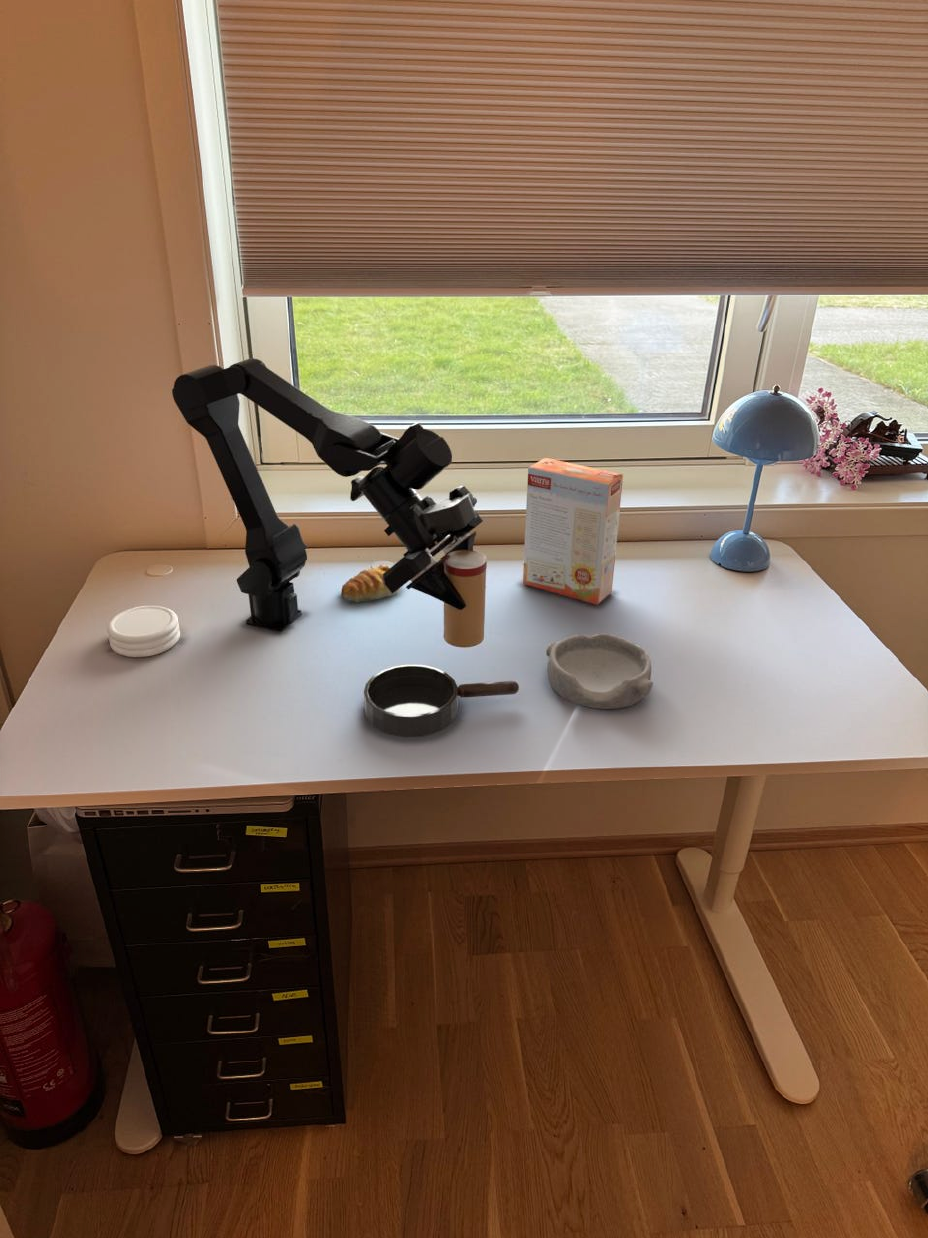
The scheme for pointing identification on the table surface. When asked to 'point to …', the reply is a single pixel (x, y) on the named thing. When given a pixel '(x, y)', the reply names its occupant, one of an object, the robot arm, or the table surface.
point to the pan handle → (487, 689)
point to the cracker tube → (466, 598)
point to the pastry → (367, 585)
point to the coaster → (143, 631)
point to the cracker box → (571, 529)
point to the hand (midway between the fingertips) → (473, 598)
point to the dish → (599, 671)
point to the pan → (411, 700)
